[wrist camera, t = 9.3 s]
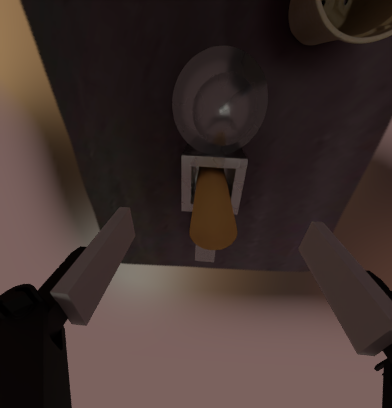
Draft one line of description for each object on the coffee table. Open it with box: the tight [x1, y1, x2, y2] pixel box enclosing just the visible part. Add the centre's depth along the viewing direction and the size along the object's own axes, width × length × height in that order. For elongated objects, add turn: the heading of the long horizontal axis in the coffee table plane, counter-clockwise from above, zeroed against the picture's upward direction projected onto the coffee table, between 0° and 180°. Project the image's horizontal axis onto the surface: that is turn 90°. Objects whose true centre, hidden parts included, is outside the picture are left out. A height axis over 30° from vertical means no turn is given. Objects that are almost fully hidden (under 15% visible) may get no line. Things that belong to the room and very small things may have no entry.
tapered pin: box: [189, 166, 237, 250], centre depth 19 cm, size 4×4×14 cm
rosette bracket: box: [172, 46, 268, 262], centre depth 21 cm, size 26×9×14 cm, turn 178°
